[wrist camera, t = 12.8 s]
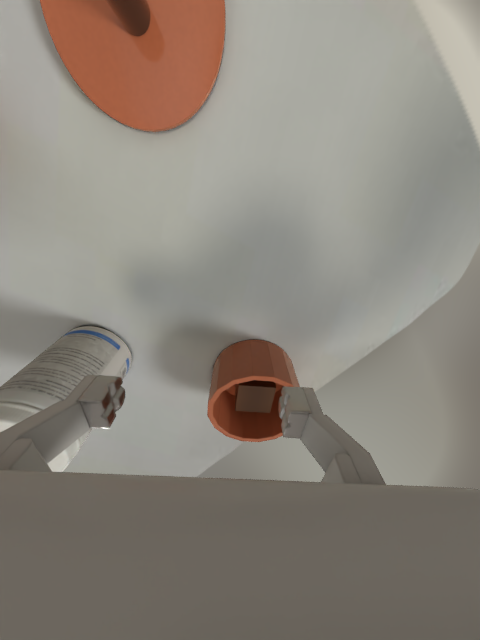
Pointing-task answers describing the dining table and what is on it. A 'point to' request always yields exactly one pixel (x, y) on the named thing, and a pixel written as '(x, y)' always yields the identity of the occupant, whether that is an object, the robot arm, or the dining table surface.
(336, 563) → the robot arm
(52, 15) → the bowl lid
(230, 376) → the bowl
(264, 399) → the block
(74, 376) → the supplement tub
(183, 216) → the dining table surface
